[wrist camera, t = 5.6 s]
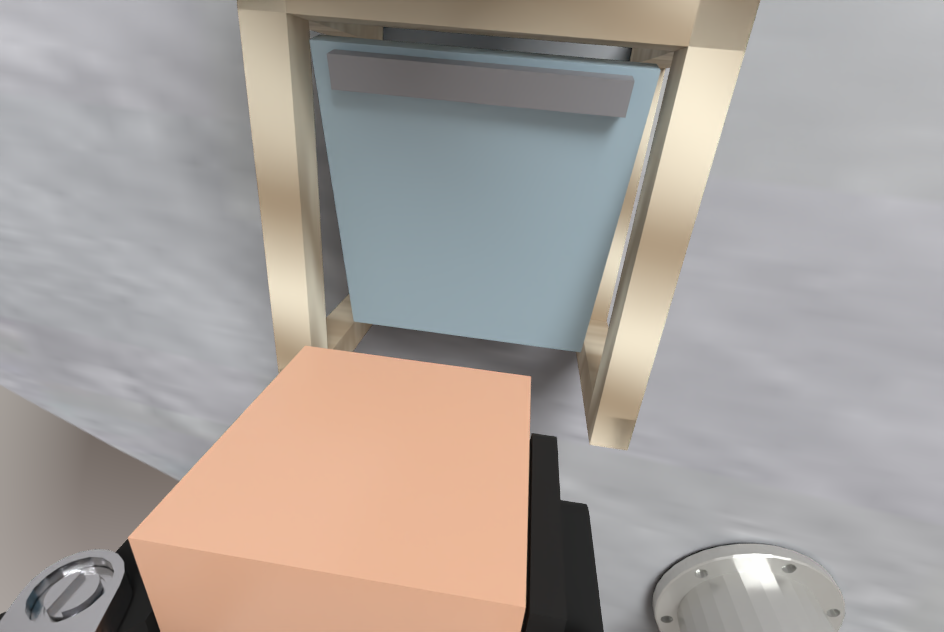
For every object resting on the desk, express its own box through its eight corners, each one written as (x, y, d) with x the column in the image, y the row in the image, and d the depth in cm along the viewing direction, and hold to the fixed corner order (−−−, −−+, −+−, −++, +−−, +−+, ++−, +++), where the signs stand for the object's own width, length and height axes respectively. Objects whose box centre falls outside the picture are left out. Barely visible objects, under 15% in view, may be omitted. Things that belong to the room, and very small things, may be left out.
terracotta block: (504, 538, 12) (486, 798, 8) (319, 508, 13) (197, 738, 8) (531, 376, 10) (525, 607, 5) (304, 345, 10) (127, 537, 6)
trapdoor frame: (599, 339, 27) (627, 450, 19) (358, 307, 28) (281, 397, 20) (671, 30, 21) (764, -16, 12) (351, 4, 22) (230, -54, 13)
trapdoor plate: (580, 340, 22) (581, 362, 21) (359, 310, 22) (349, 330, 21) (656, 63, 14) (664, 75, 13) (319, 34, 15) (300, 43, 14)
